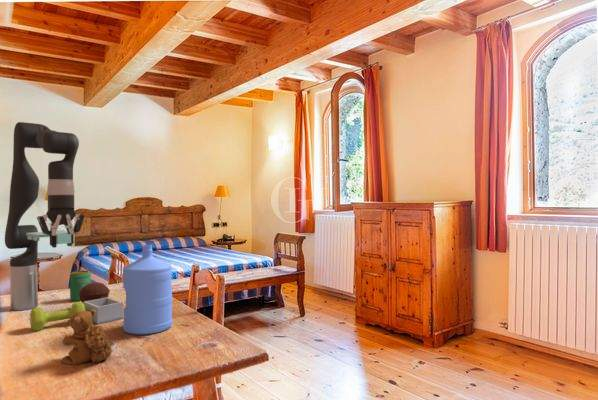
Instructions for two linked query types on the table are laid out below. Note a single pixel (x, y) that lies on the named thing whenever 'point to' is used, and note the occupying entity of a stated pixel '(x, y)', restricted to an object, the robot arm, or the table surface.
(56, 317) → the dumbbell
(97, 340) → the stuffed squirrel
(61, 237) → the teal flat paddle shape
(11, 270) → the robot arm
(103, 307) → the tub
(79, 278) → the beverage can
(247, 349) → the table surface
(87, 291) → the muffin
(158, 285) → the water jug
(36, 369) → the table surface
